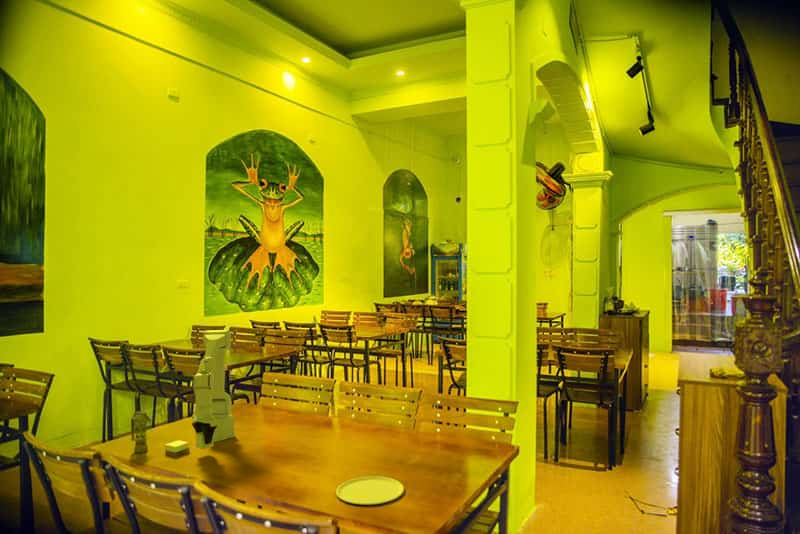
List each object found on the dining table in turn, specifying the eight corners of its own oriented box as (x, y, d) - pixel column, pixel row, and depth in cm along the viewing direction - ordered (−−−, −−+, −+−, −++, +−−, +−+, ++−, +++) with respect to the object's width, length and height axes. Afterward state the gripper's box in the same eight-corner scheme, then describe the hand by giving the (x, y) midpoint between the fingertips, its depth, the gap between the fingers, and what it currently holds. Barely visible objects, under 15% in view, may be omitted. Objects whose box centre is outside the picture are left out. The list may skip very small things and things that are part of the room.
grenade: (142, 454, 205) (141, 414, 205) (126, 453, 207) (125, 413, 207) (154, 447, 212) (153, 409, 212) (139, 446, 214) (138, 408, 214)
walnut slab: (179, 450, 210) (179, 445, 210) (189, 453, 207) (189, 447, 207) (165, 455, 205) (165, 449, 205) (175, 457, 202) (175, 452, 202)
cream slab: (178, 445, 210) (178, 440, 210) (188, 447, 207) (188, 442, 207) (164, 450, 205) (164, 444, 205) (175, 452, 202) (175, 446, 202)
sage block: (207, 443, 206) (207, 430, 205) (213, 446, 202) (213, 432, 202) (196, 446, 202) (195, 433, 202) (202, 449, 199) (201, 435, 199)
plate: (418, 495, 164) (418, 491, 164) (358, 514, 152) (358, 510, 152) (380, 474, 181) (379, 470, 181) (323, 490, 169) (323, 486, 169)
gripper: (184, 404, 204) (185, 440, 204) (203, 411, 194) (204, 449, 195) (202, 400, 209) (202, 436, 209) (221, 407, 200) (222, 444, 200)
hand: (204, 442), depth 202 cm, fingers closed on sage block, 4 cm apart
